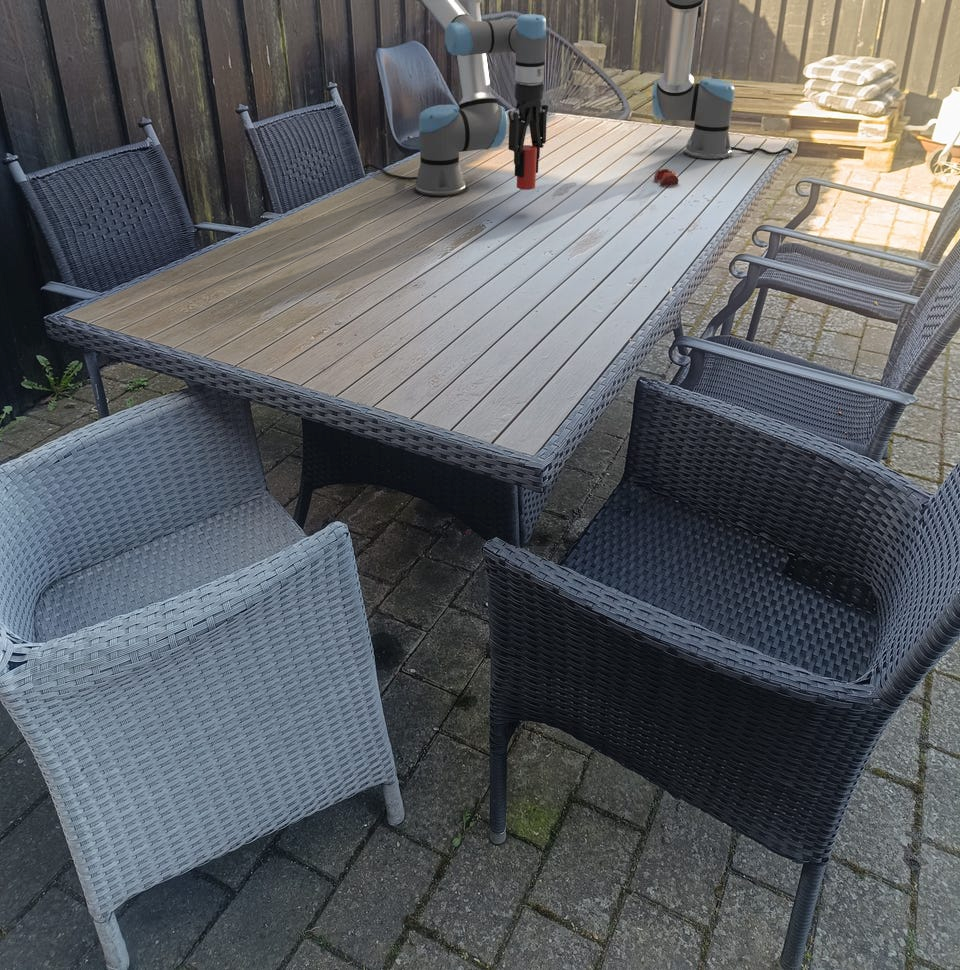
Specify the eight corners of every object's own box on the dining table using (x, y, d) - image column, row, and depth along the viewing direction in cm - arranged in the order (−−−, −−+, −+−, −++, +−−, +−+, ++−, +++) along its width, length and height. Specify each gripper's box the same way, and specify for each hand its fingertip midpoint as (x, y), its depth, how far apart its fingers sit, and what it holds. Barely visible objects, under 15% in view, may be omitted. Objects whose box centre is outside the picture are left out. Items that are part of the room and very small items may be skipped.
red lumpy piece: (669, 164, 265) (680, 172, 259) (668, 178, 267) (679, 185, 261) (653, 166, 264) (664, 174, 258) (652, 180, 266) (662, 188, 260)
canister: (521, 190, 232) (522, 150, 226) (513, 185, 236) (514, 146, 230) (538, 188, 234) (540, 148, 228) (530, 183, 238) (531, 144, 232)
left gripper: (516, 89, 212) (513, 183, 226) (563, 79, 222) (558, 170, 236) (494, 85, 216) (493, 178, 230) (541, 75, 227) (538, 164, 240)
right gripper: (672, -36, 298) (665, 31, 310) (694, -30, 277) (685, 42, 290) (693, -36, 298) (684, 31, 311) (716, -30, 278) (706, 42, 290)
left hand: (526, 173), depth 233 cm, fingers closed on canister, 5 cm apart
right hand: (685, 36), depth 300 cm, fingers open, 13 cm apart
